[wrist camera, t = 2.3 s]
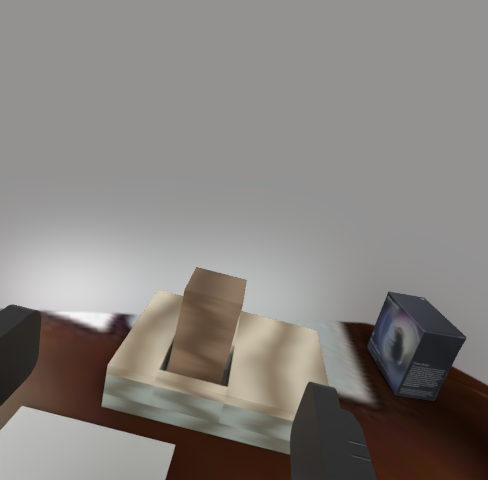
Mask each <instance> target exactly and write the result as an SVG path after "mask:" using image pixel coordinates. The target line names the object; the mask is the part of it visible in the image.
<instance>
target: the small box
mask: <svg viewBox="0 0 488 480" xmlns="http://www.w3.org/2000/svg"><path fill="white" fill-rule="evenodd" d="M465 340H466V336H464V335H463V334H462V333H461V332H460V331H459V330H458V329H457V328H456V327H455V326H454V325H452V323H450V322H449V321H448V320H447V319H446V318H445V317H444V316H443V315H442V314H441V313H440V312H439V311H438V310H437V309H435V307H433V306H432V305H431V304H430V303H429V302H428V301H427V300H426V299H425V298H423V297H416V296H411V295H405V294H399V293H393V292H388V294H387V298H386V300H385V302H384V305H383V307H382V310H381V312H380V315H379V317H378V320H377V322H376V324H375V327H374V329H373V332H372V334H371V337H370V339H369V342H368V344H367V346H366V348H367V350H368V351H369V353H370V355H371V356H372V358H373V360H374V361H375V363H376V365H377V366H378V368H379V370H380V371H381V373H382V375H383V376H384V378H385V380H386V381H387V383H388V385H389V386H390V388H391V390H392V391H393V393H394V395H397V396H403V397H410V398H416V399H423V400H430V401H435V399H436V396H437V394H438V392H439V390H440V388H441V386H442V384H443V382H444V380H445V378H446V376H447V374H448V372H449V370H450V368H451V366H452V364H453V362H454V360H455V358H456V356H457V354H458V352H459V350H460V349H461V347H462V345H463V344H464V342H465Z"/></svg>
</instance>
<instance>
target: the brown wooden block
mask: <svg viewBox="0 0 488 480" xmlns="http://www.w3.org/2000/svg"><path fill="white" fill-rule="evenodd" d="M245 287H246V280H245V279H241V278H237V277H233V276H229V275H225V274H221V273H217V272H213V271H210V270H206V269H202V268H198V267H196V269H195V271H194V273H193V275H192V277H191V279H190V281H189V283H188V285H187V287H186V288H185V291H184V296H183V300H182V305H181V310H180V314H179V319H178V324H177V328H176V333H175V338H174V342H173V347H172V351H171V356H170V361H169V365H168V370H167V372H171V373H175V374H179V375H183V376H186V377H190V378H194V379H198V380H202V381H206V382H210V383H214V384H218V385H221V381H222V378H223V374H224V370H225V367H226V363H227V360H228V356H229V352H230V349H231V345H232V341H233V338H234V334H235V331H236V327H237V323H238V320H239V316H240V312H241V309H242V305H243V300H244V293H245Z"/></svg>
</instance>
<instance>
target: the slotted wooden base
mask: <svg viewBox="0 0 488 480" xmlns="http://www.w3.org/2000/svg"><path fill="white" fill-rule="evenodd" d="M182 300H183V296H180V295H176V294H172V293H169V292H165V291H161V290H158V291H157V293H156V294H155V296H154V297H153V299H152V300H151V302H150V303H149V305H148V306H147V307H146V309H145V310H144V312H143V313H142V315H141V316H140V318H139V319H138V321H137V322H136V324H135V325H134V327H133V328H132V330H131V331H130V333H129V334H128V336H127V337H126V339H125V340H124V342H123V343H122V344H121V346H120V347H119V349H118V350H117V352H116V353H115V355H114V356H113V358H112V359H111V361H110V362H109V364H108V367H107V373H106V380H105V386H104V393H103V400H102V406H101V407H105V408H109V409H113V410H117V411H121V412H125V413H129V414H133V415H137V416H141V417H145V418H148V419H152V420H156V421H160V422H164V423H168V424H172V425H176V426H180V427H184V428H188V429H192V430H195V431H199V432H203V433H207V434H211V435H215V436H219V437H223V438H227V439H231V440H235V441H239V442H242V443H246V444H250V445H254V446H258V447H262V448H266V449H270V450H274V451H278V452H282V453H286V454H290V434H291V428H292V424H293V420H294V418H295V415H296V412H297V410H298V407H299V404H300V402H301V399H302V396H303V393H304V391H305V388H306V386H307V384H308V382H314V383H318V384H322V385H326V386H329V385H328V381H327V376H326V371H325V367H324V362H323V357H322V352H321V348H320V343H319V338H318V333H317V331H316V330H312V329H309V328H305V327H301V326H297V325H293V324H289V323H285V322H281V321H277V320H273V319H269V318H266V317H262V316H258V315H254V314H250V313H246V312H243V311H241V312H240V316H239V320H238V323H237V327H236V331H235V334H234V338H233V341H232V345H231V349H230V352H229V356H228V360H227V363H226V367H225V370H224V374H223V378H222V381H221V385H218V384H214V383H210V382H206V381H202V380H198V379H194V378H190V377H186V376H183V375H179V374H175V373H171V372H167V370H168V365H169V361H170V356H171V351H172V347H173V342H174V338H175V333H176V328H177V324H178V319H179V314H180V310H181V305H182Z"/></svg>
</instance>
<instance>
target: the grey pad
mask: <svg viewBox="0 0 488 480" xmlns="http://www.w3.org/2000/svg"><path fill="white" fill-rule="evenodd" d="M174 448H175V445H174V444H170V443H166V442H162V441H158V440H154V439H150V438H146V437H142V436H138V435H134V434H130V433H126V432H123V431H119V430H115V429H111V428H107V427H103V426H99V425H95V424H91V423H87V422H83V421H79V420H75V419H72V418H68V417H64V416H60V415H56V414H52V413H48V412H44V411H40V410H36V409H32V408H28V407H24V406H22V407H21V408H20V409H19V410H18V411H17V412H16V413H15V415H14V416H13V417H12V418H11V419H10V420H9V421H8V423H7V424H6V425H5V426H4V427H3V428H2V429H1V431H0V480H165V479H166V476H167V473H168V469H169V466H170V463H171V459H172V456H173V452H174Z"/></svg>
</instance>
